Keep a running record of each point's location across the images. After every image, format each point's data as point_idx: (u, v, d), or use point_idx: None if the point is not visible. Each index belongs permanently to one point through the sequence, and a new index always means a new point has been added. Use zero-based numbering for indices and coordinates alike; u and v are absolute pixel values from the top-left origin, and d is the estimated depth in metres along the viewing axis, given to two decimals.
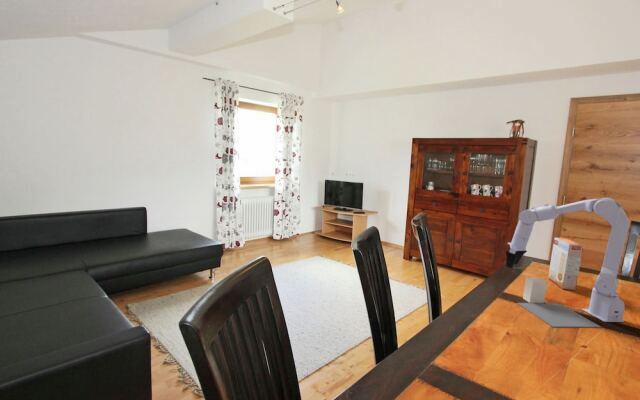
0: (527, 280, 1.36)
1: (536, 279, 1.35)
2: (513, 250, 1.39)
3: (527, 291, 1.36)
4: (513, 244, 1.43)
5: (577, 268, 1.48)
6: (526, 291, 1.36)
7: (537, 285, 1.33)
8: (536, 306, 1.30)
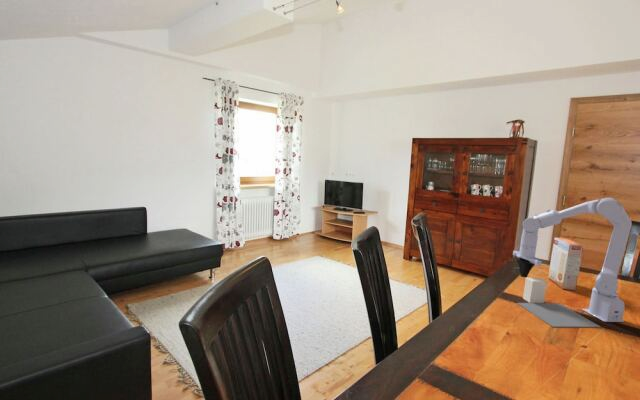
0: (527, 280, 1.36)
1: (536, 279, 1.35)
2: (539, 262, 1.34)
3: (527, 291, 1.36)
4: (528, 256, 1.38)
5: (577, 268, 1.48)
6: (526, 291, 1.36)
7: (537, 285, 1.33)
8: (536, 306, 1.30)
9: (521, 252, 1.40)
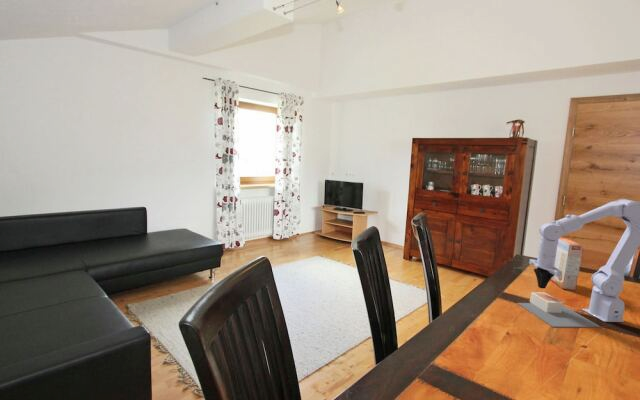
0: (546, 304, 1.26)
1: (555, 307, 1.25)
2: (560, 273, 1.24)
3: (537, 301, 1.30)
4: (547, 265, 1.28)
5: (577, 268, 1.48)
6: (537, 299, 1.30)
7: None
8: (536, 306, 1.30)
9: (539, 261, 1.30)
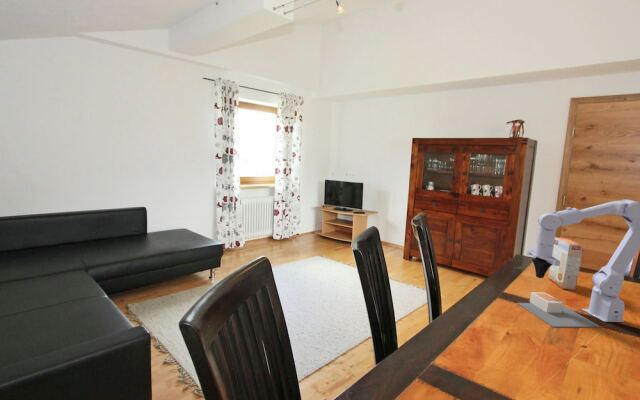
0: (546, 304, 1.26)
1: (555, 307, 1.25)
2: (558, 262, 1.25)
3: (537, 301, 1.30)
4: (545, 255, 1.29)
5: (577, 268, 1.48)
6: (537, 299, 1.30)
7: None
8: (536, 306, 1.30)
9: (537, 251, 1.31)
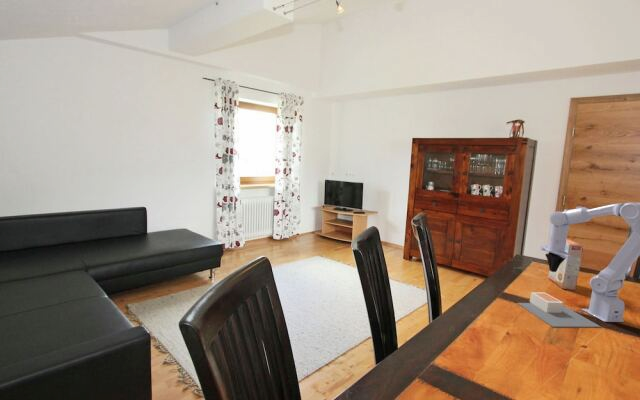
0: (546, 304, 1.26)
1: (555, 307, 1.25)
2: (570, 257, 1.34)
3: (537, 301, 1.30)
4: (558, 250, 1.38)
5: (577, 268, 1.48)
6: (537, 299, 1.30)
7: None
8: (536, 306, 1.30)
9: (551, 247, 1.40)
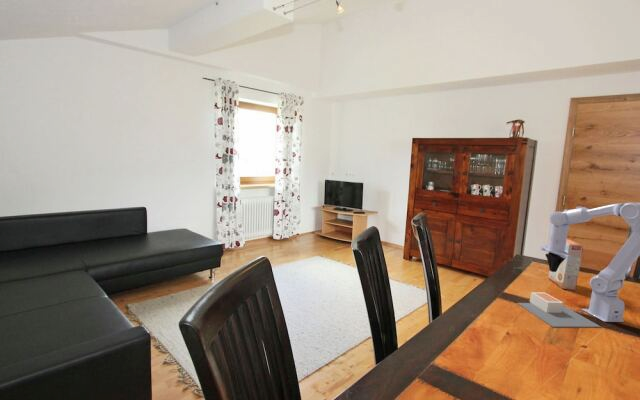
0: (546, 304, 1.26)
1: (555, 307, 1.25)
2: (570, 257, 1.34)
3: (537, 301, 1.30)
4: (558, 250, 1.38)
5: (577, 268, 1.48)
6: (537, 299, 1.30)
7: None
8: (536, 306, 1.30)
9: (551, 247, 1.40)
